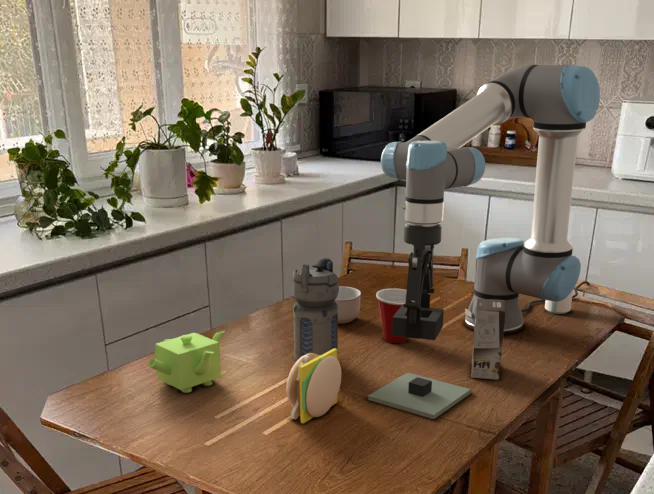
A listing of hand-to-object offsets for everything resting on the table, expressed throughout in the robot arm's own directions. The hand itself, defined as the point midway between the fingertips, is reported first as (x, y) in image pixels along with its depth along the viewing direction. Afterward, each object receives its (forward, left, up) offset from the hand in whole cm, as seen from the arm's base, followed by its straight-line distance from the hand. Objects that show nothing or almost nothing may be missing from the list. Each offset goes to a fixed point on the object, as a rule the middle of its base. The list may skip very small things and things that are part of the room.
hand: (417, 330), depth 164 cm
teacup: (-29, -43, -14) cm, 54 cm away
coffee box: (-19, +7, -14) cm, 25 cm away
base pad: (+2, +2, -14) cm, 14 cm away
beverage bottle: (0, -27, -14) cm, 30 cm away
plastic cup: (-25, -21, -14) cm, 36 cm away
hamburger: (+21, -12, -14) cm, 28 cm away
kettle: (+26, -42, -14) cm, 51 cm away
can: (-72, +3, -14) cm, 74 cm away
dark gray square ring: (0, 0, 0) cm, 0 cm away
